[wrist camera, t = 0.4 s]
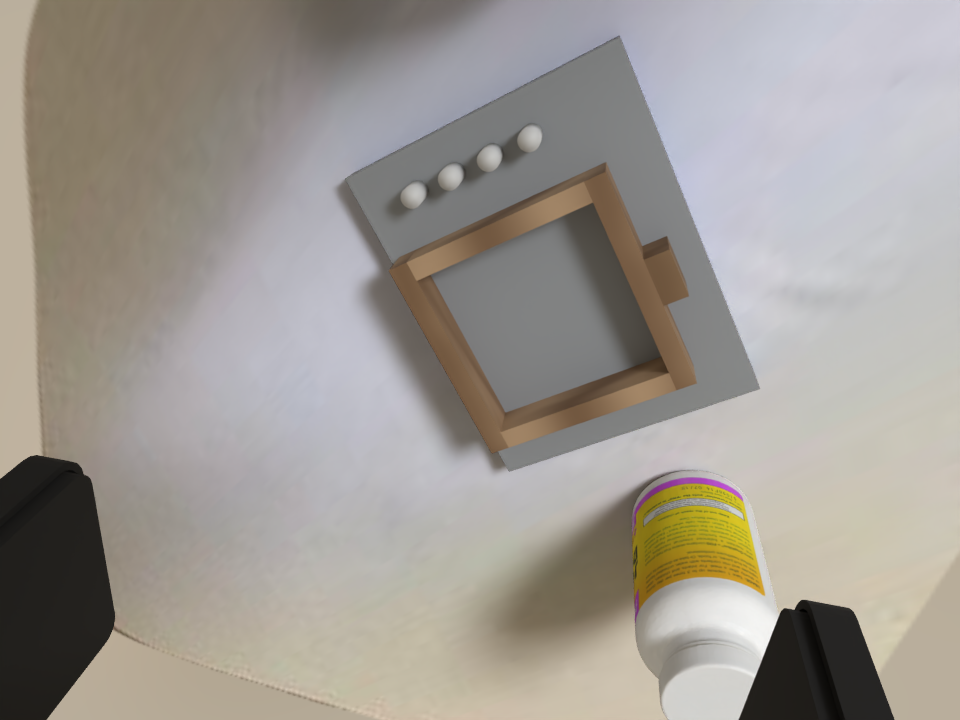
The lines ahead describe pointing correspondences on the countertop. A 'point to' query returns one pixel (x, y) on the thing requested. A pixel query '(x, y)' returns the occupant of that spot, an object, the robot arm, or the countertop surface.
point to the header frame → (653, 289)
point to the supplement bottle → (700, 594)
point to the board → (559, 247)
